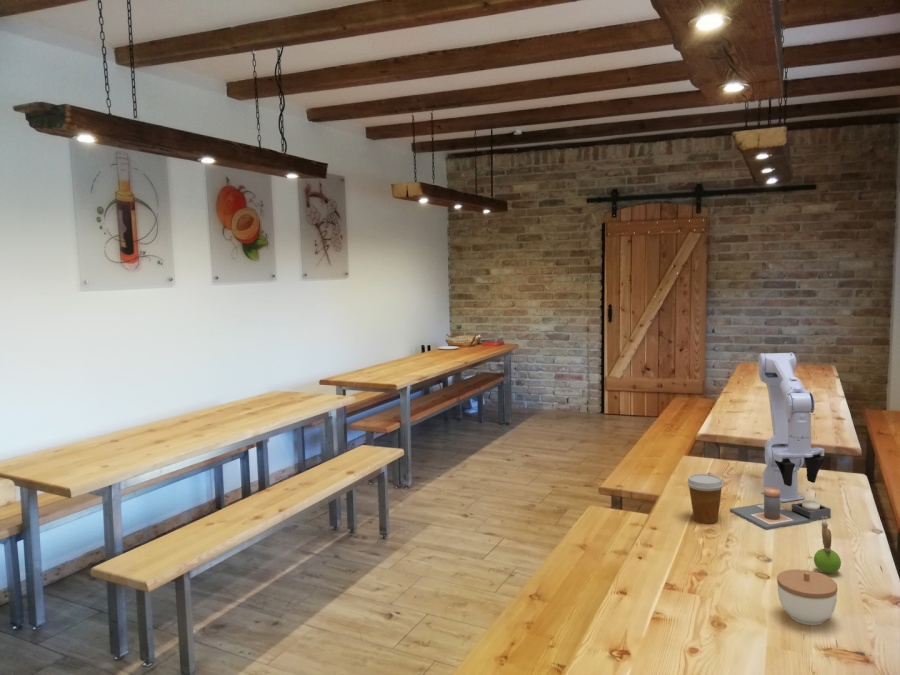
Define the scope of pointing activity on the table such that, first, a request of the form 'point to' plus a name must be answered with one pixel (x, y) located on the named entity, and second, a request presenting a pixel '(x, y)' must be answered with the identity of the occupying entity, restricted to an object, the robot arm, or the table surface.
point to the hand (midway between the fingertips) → (799, 483)
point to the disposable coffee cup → (705, 497)
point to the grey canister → (771, 503)
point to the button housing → (811, 512)
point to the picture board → (757, 517)
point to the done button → (810, 505)
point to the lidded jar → (807, 595)
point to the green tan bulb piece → (827, 553)
